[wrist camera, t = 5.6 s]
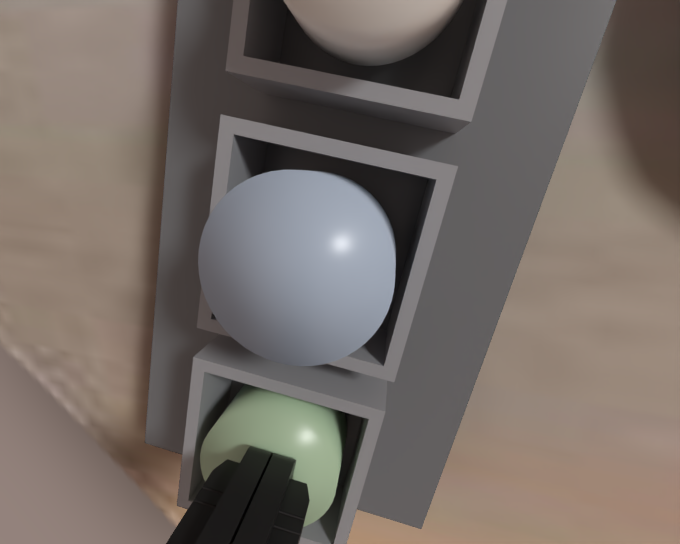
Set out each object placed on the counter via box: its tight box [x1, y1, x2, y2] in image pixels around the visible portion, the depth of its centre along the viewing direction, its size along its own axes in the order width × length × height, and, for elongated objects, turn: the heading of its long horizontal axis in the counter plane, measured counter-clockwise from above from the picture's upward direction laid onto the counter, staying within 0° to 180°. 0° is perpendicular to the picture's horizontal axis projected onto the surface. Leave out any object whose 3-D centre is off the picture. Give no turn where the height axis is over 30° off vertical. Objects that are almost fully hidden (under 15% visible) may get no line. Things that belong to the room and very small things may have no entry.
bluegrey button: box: [198, 170, 396, 366], centre depth 9 cm, size 4×4×2 cm
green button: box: [200, 384, 347, 527], centre depth 12 cm, size 4×4×2 cm
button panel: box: [145, 0, 616, 544], centre depth 12 cm, size 12×21×6 cm, turn 168°
